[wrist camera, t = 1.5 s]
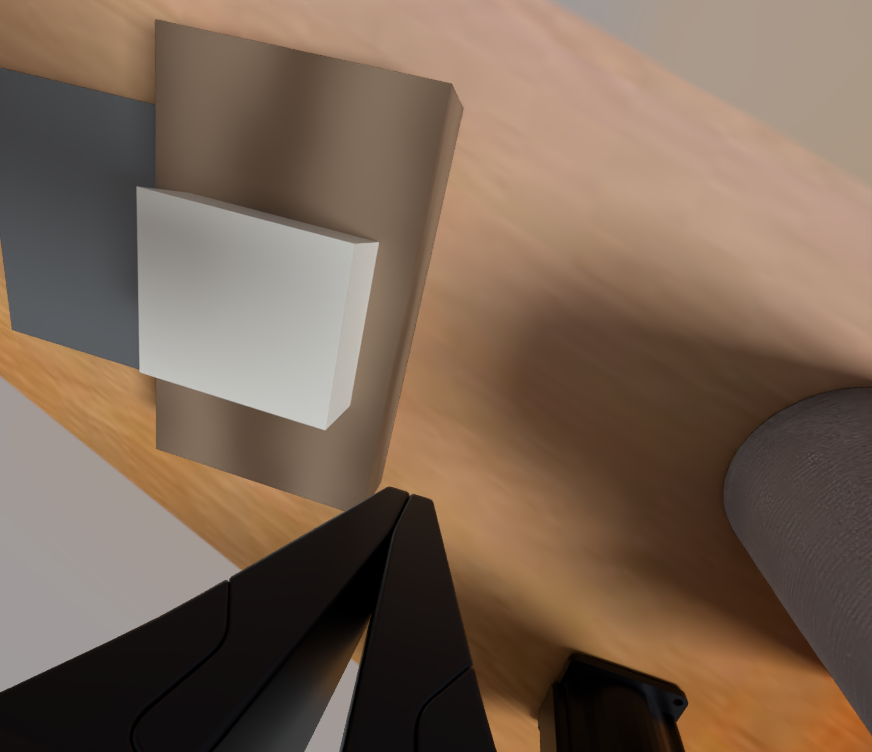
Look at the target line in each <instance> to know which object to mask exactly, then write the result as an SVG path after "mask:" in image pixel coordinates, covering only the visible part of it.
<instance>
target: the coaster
mask: <svg viewBox="0 0 872 752" xmlns="http://www.w3.org/2000/svg"><path fill="white" fill-rule="evenodd" d="M136 188H137V247H138V307H139V367H140V373H143V374H146V375H149V376H153V377H156V378H159V379H162V380H165V381H169V382H172V383H175V384H178V385H181V386H185V387H188V388H191V389H194V390H197V391H201V392H204V393H207V394H210V395H213V396H217V397H220V398H223V399H226V400H229V401H233V402H236V403H239V404H242V405H245V406H249V407H252V408H255V409H258V410H261V411H265V412H268V413H271V414H274V415H277V416H281V417H284V418H287V419H290V420H293V421H297V422H300V423H303V424H306V425H309V426H313V427H316V428H319V429H322V430H326V429H327V428H328V427H329V426H330V425H331V424H332V423H333V422H334V421H335V420H336V419H337V418H338V417H339V416H340V415H341V414H342V413H343V412H344V411H345V410H346V409H347V408H348V407H349V406H350V403H351V397H352V392H353V386H354V380H355V375H356V369H357V363H358V358H359V352H360V346H361V341H362V335H363V329H364V324H365V318H366V312H367V307H368V301H369V295H370V290H371V284H372V279H373V273H374V267H375V262H376V256H377V250H378V245H379V242H376V241H373V240H369V239H365V238H361V237H357V236H353V235H350V234H346V233H342V232H338V231H334V230H330V229H327V228H323V227H319V226H315V225H311V224H307V223H304V222H300V221H296V220H292V219H288V218H284V217H281V216H277V215H273V214H269V213H265V212H261V211H258V210H254V209H250V208H246V207H242V206H238V205H235V204H231V203H227V202H223V201H219V200H215V199H212V198H208V197H204V196H200V195H196V194H192V193H188V192H179V191H171V190H162V189H154V188H145V187H137V186H136Z"/></svg>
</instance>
